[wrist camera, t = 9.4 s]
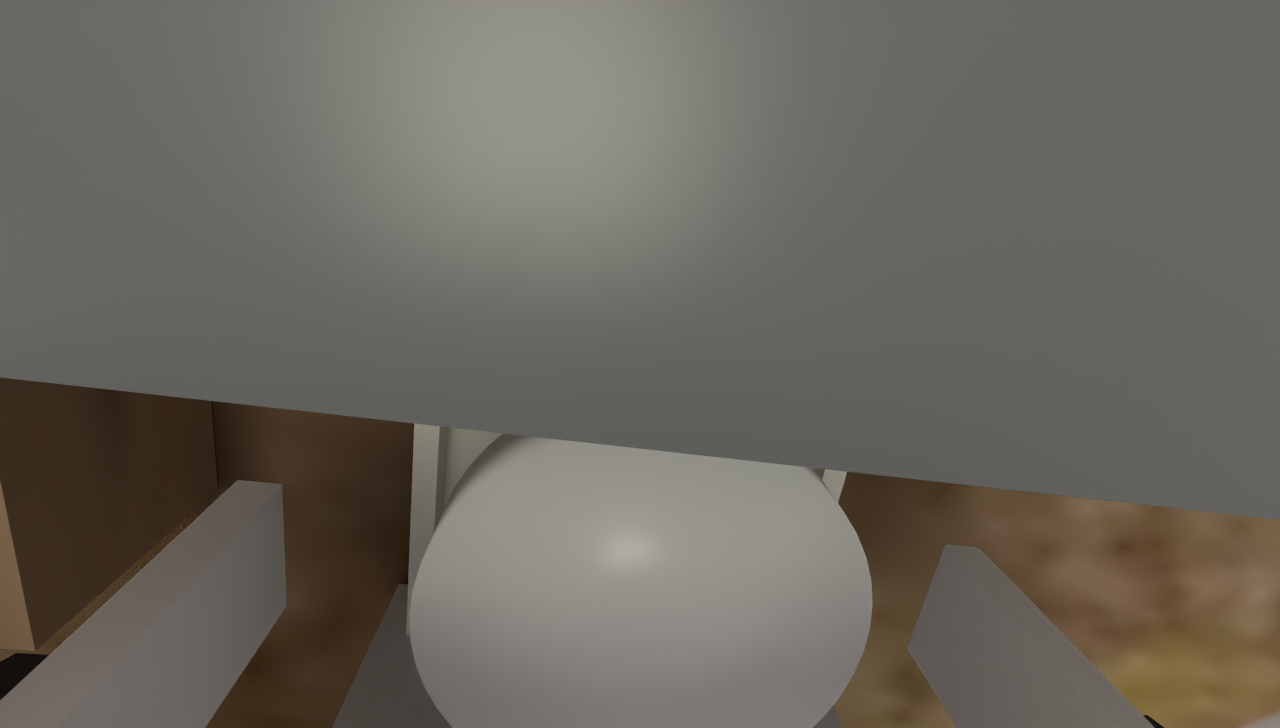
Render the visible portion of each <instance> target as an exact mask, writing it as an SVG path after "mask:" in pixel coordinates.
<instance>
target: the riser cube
mask: <svg viewBox="0 0 1280 728" xmlns="http://www.w3.org/2000/svg"><path fill="white" fill-rule="evenodd" d="M217 490H218V482H217V469H216V456H215V443H214V430H213V417H212V404H211V401H208V400H199V399H190V398H181V397H172V396H163V395H154V394H145V393H136V392H127V391H118V390H109V389H100V388H91V387H82V386H73V385H64V384H55V383H46V382H37V381H28V380H19V379H10V378H1V377H0V649H13V650H28V651H36V650H37V649H38V648H39V647H40V646H41V645H43V644H44V643H45V642H46V641H47V640H48V639H49V638H50V637H52V636H53V635H54V634H55V633H56V632H57V631H58V630H60V629H61V628H62V627H63V626H64V625H65V624H66V623H67V622H69V621H70V620H71V619H72V618H73V617H74V616H75V615H77V614H78V613H79V612H80V611H81V610H82V609H83V608H84V607H86V606H87V605H88V604H89V603H90V602H91V601H92V600H94V599H95V598H96V597H97V596H98V595H99V594H100V593H101V592H103V591H104V590H105V589H106V588H107V587H108V586H109V585H110V584H112V583H113V582H114V581H115V580H116V579H117V578H118V577H120V576H121V575H122V574H123V573H124V572H125V571H126V570H127V569H129V568H130V567H131V566H132V565H133V564H134V563H135V562H137V561H138V560H139V559H140V558H141V557H142V556H143V555H144V554H146V553H147V552H148V551H149V550H150V549H151V548H152V547H153V546H155V545H156V544H157V543H158V542H159V541H160V540H161V539H163V538H164V537H165V536H166V535H167V534H168V533H169V532H170V531H172V530H173V529H174V528H175V527H176V526H177V525H178V524H180V523H181V522H182V521H183V520H184V519H185V518H186V517H187V516H189V515H190V514H191V513H192V512H193V511H194V510H195V509H197V508H198V507H199V506H200V505H201V504H202V503H203V502H204V501H206V500H207V499H208V498H209V497H210V496H211V495H212V494H213V493H215V492H216V491H217Z"/></svg>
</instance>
